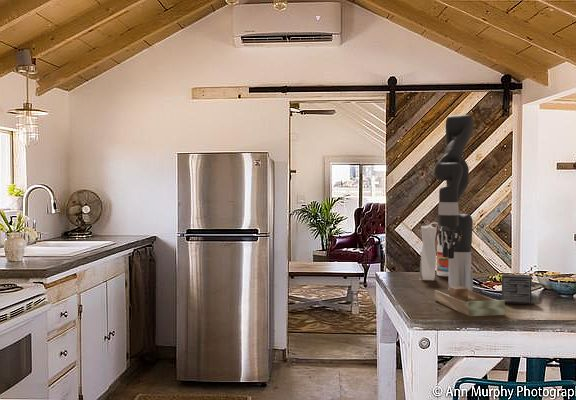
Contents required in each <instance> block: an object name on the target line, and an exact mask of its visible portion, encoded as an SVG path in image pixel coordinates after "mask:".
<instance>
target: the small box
mask: <svg viewBox="0 0 576 400" xmlns="http://www.w3.org/2000/svg"><path fill="white" fill-rule="evenodd" d="M501 300H505V304H513V305H514V304H517V305H532V304H533V303H532V277H531V275H529V274H528V275H527V274H526V275H523V274H501Z"/></svg>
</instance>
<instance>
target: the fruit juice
mask: <svg viewBox="0 0 576 400" xmlns="http://www.w3.org/2000/svg"><path fill="white" fill-rule="evenodd" d="M440 227H441V228H440V229H439V231H441V229H442V226H440ZM436 239H437V246H436V275H437V276H438V277H439V276H440V277H447V278H448V272H449V258H448V257H443V247H442V245H440V243H439V236H438V235H436ZM447 248H448V247H447Z"/></svg>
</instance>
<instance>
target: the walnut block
mask: <svg viewBox="0 0 576 400" xmlns="http://www.w3.org/2000/svg"><path fill="white" fill-rule="evenodd" d="M448 292H449V293H448V295H449V296H451V297H454V298H456V299H459V300H461V301H465V302H468V288H465V287H462V286H455V287H449V291H448Z"/></svg>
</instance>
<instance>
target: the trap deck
mask: <svg viewBox="0 0 576 400" xmlns="http://www.w3.org/2000/svg"><path fill="white" fill-rule="evenodd" d="M434 301H436V302H437V301H438V303H439V302H440V304H441V303H442V304H441V305H444V306H446V307H448V308H449V309H453V310H454V311H456V312H459V313H461V314H464V315H465V316H468V317H483V316H484V317H485V316H505V314H506V311H505V310H506V309H505V308H506V307H505V305H506V303H505V300H502V299H501V300H498V299H493V298H492V297H489V296H486V295H483V294H481V293H477V292H475V291H474V290H473V291H470V290H468V302H465V301H461V300H459V299H456V298H454V297H451V296H449V294H447V293H444V292H442V291H439V290H436V289H435V290H434Z"/></svg>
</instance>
